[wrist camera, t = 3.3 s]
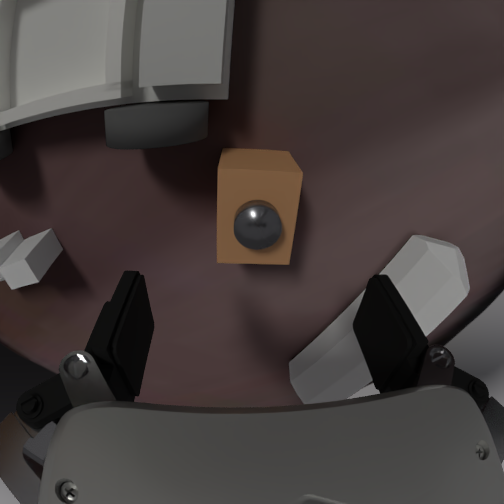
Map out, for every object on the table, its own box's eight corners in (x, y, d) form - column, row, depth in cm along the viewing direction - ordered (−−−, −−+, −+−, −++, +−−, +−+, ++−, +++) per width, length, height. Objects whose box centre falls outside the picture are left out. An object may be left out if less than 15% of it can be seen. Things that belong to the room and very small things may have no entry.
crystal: (436, 224, 18) (267, 391, 29) (488, 281, 17) (314, 424, 28) (420, 210, 25) (287, 354, 36) (465, 255, 24) (327, 385, 35)
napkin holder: (-12, 263, 23) (-36, 293, 18) (-19, 179, 18) (-55, 205, 13) (83, 310, 27) (65, 349, 23) (91, 226, 22) (62, 266, 17)
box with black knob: (222, 147, 19) (216, 174, 14) (288, 151, 19) (307, 179, 14) (220, 224, 22) (216, 272, 17) (279, 226, 22) (291, 274, 17)
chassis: (243, -79, 8) (245, -121, 3) (227, 128, 18) (222, 147, 13) (-16, -1, 7) (-57, -1, 2) (-19, 158, 16) (-60, 184, 11)
